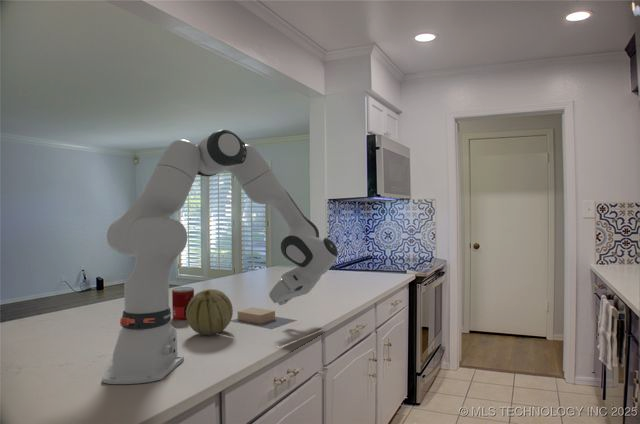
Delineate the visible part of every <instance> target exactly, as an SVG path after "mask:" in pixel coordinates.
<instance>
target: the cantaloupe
mask: <svg viewBox="0 0 640 424" xmlns="http://www.w3.org/2000/svg"><path fill="white" fill-rule="evenodd" d="M233 309H234V308H233V303H232V302H231V300H230V299H229V296H228V295H226V293H225V292H223V291H221V290H218V289H205V290H201V291H199V292H198V293H195V294H194V297H193V298H192V299H191V300H190V302H189V304H188V306H187V309H186V318H187V324H188V326H189V327H190V328H191V329H192V330H193V331H194V332H195V333H196V334H199V335H201V336H213V335H217V334H219V333H221V332H223V331H224V330H225V329H227V327H228V326H229V325H230V324H231V320H233V319H232V318H233V314H234V313H233V312H234V310H233Z"/></svg>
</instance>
